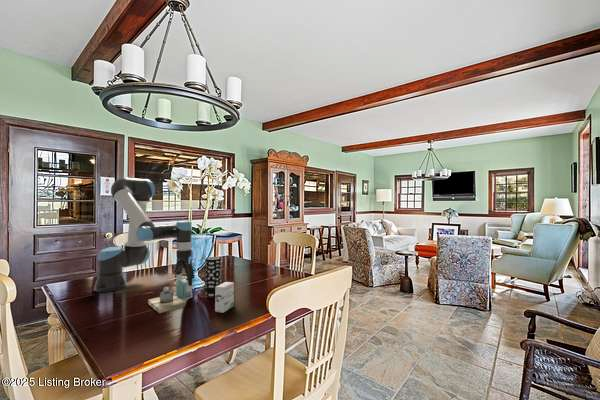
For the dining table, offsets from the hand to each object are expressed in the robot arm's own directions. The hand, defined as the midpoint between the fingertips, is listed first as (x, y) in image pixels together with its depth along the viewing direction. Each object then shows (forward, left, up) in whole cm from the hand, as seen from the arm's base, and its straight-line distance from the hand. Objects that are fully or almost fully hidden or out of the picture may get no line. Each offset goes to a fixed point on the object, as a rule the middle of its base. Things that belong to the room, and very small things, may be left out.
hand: (184, 288), depth 150 cm
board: (+9, -12, -3) cm, 15 cm away
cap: (0, 0, -3) cm, 3 cm away
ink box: (+33, +6, -4) cm, 33 cm away
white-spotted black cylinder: (+12, +11, -4) cm, 16 cm away
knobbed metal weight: (+9, -12, -1) cm, 15 cm away
